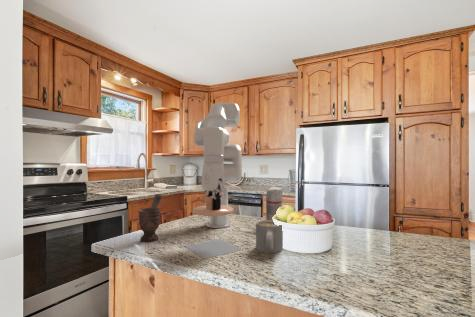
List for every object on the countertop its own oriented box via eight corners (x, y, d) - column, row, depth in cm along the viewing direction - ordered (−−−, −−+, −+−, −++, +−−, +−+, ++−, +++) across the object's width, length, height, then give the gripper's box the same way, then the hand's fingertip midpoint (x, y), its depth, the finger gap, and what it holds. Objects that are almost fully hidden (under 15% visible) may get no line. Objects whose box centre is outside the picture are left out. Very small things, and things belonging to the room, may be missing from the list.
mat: (184, 247, 100) (184, 245, 100) (220, 240, 109) (220, 238, 109) (203, 260, 87) (203, 258, 87) (242, 251, 96) (242, 249, 96)
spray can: (283, 229, 127) (283, 188, 128) (266, 229, 128) (267, 188, 128) (281, 224, 136) (281, 186, 136) (265, 224, 136) (265, 186, 136)
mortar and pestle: (170, 240, 109) (171, 192, 109) (157, 246, 101) (157, 194, 101) (148, 237, 113) (148, 191, 113) (133, 242, 105) (134, 193, 105)
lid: (186, 210, 101) (186, 195, 100) (220, 205, 109) (220, 192, 109) (204, 218, 88) (204, 201, 88) (240, 212, 97) (241, 197, 97)
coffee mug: (259, 244, 104) (259, 219, 104) (284, 247, 101) (284, 221, 101) (250, 255, 92) (250, 227, 92) (278, 259, 88) (278, 229, 88)
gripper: (194, 159, 103) (194, 205, 103) (216, 160, 89) (215, 213, 90) (211, 159, 107) (211, 203, 108) (234, 160, 94) (233, 211, 94)
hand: (213, 207), depth 99 cm, fingers closed on lid, 4 cm apart
